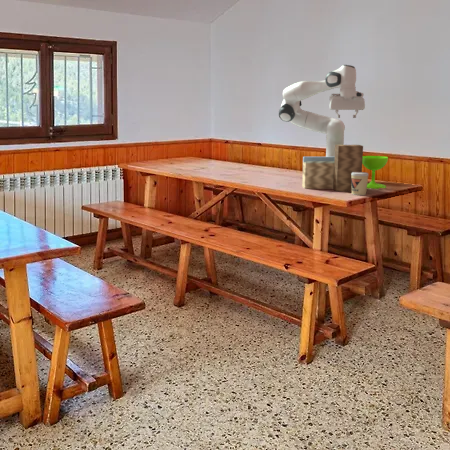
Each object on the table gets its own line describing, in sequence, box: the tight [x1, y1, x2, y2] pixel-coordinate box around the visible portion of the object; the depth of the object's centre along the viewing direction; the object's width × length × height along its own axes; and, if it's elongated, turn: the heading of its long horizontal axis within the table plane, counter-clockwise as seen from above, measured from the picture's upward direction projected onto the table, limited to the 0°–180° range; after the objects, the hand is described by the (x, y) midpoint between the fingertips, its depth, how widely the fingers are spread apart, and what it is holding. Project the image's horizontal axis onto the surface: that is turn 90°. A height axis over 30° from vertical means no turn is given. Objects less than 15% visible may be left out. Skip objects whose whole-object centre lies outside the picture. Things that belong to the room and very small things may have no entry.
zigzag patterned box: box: [301, 161, 334, 190], centre depth 359 cm, size 24×10×16 cm, turn 92°
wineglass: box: [362, 155, 389, 190], centre depth 363 cm, size 16×16×18 cm
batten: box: [302, 156, 335, 163], centre depth 357 cm, size 19×3×3 cm, turn 92°
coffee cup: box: [351, 171, 369, 196], centre depth 334 cm, size 9×9×12 cm
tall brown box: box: [332, 144, 364, 192], centre depth 347 cm, size 14×9×26 cm, turn 92°
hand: (346, 117), depth 352 cm, fingers open, 8 cm apart
